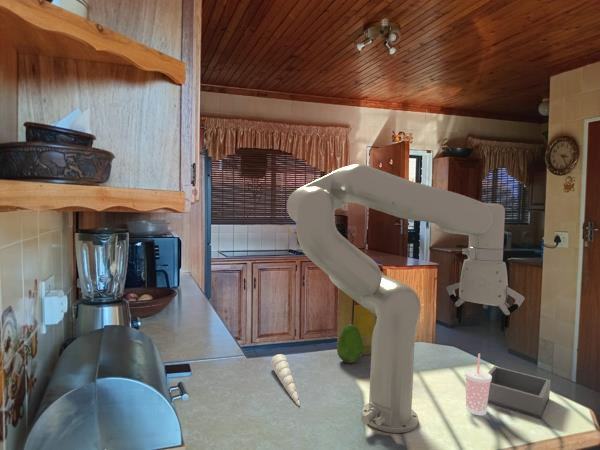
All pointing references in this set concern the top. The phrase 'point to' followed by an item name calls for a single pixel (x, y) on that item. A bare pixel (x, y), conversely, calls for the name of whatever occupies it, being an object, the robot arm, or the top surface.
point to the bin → (518, 391)
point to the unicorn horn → (285, 375)
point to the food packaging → (356, 320)
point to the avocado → (349, 344)
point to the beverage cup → (477, 390)
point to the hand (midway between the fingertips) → (481, 326)
